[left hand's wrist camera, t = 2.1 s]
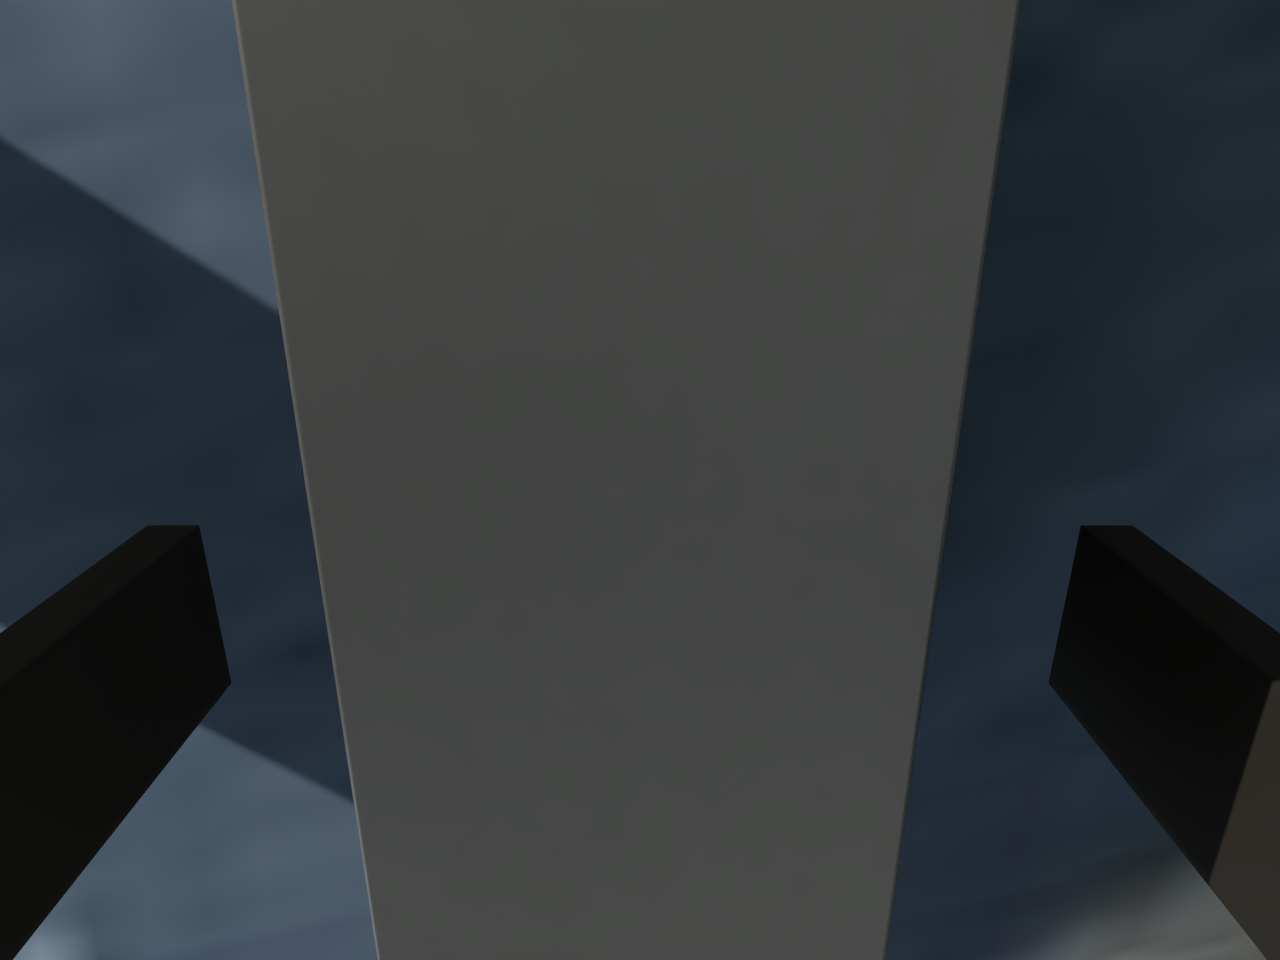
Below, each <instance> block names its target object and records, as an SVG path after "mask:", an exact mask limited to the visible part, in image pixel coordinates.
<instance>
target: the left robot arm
mask: <svg viewBox="0 0 1280 960" xmlns="http://www.w3.org/2000/svg"><path fill="white" fill-rule="evenodd" d="M230 684H231V679H230V674H229V669H228V664H227V659H226V655H225V650H224V645H223V640H222V635H221V630H220V625H219V620H218V616H217V611H216V606H215V601H214V596H213V591H212V586H211V581H210V577H209V572H208V567H207V562H206V557H205V552H204V547H203V542H202V537H201V533H200V528H199V526H146V527H145V528H144V529H142V530H141V531H139V532H138V533H137V534H135V535H134V536H133V537H131V538H130V539H129V540H127V541H126V542H124V543H123V544H122V545H120V546H119V547H118V548H116V549H115V550H114V551H112V552H111V553H109V554H108V555H107V556H105V557H104V558H103V559H101V560H100V561H98V562H97V563H96V564H94V565H93V566H92V567H90V568H89V569H88V570H86V571H85V572H83V573H82V574H81V575H79V576H78V577H77V578H75V579H74V580H73V581H71V582H70V583H68V584H67V585H66V586H64V587H63V588H62V589H60V590H59V591H57V592H56V593H55V594H53V595H52V596H51V597H49V598H48V599H47V600H45V601H44V602H42V603H41V604H40V605H38V606H37V607H36V608H34V609H33V610H32V611H30V612H29V613H27V614H26V615H25V616H23V617H22V618H21V619H19V620H18V621H16V622H15V623H14V624H12V625H11V626H10V627H8V628H7V629H6V630H4V631H3V632H1V633H0V960H13V959H14V957H15V956H16V955H17V954H18V952H19V951H20V950H21V948H22V947H23V946H24V945H25V943H26V942H27V941H28V940H29V938H30V937H31V936H32V935H33V933H34V932H35V931H36V929H37V928H38V927H39V926H40V924H41V923H42V922H43V921H44V919H45V918H46V917H47V916H48V914H49V913H50V912H51V910H52V909H53V908H54V907H55V905H56V904H57V903H58V902H59V900H60V899H61V898H62V897H63V895H64V894H65V893H66V892H67V890H68V889H69V888H70V886H71V885H72V884H73V883H74V881H75V880H76V879H77V878H78V876H79V875H80V874H81V873H82V871H83V870H84V869H85V867H86V866H87V865H88V864H89V862H90V861H91V860H92V859H93V857H94V856H95V855H96V854H97V852H98V851H99V850H100V848H101V847H102V846H103V845H104V843H105V842H106V841H107V840H108V838H109V837H110V836H111V835H112V833H113V832H114V831H115V829H116V828H117V827H118V826H119V824H120V823H121V822H122V821H123V819H124V818H125V817H126V816H127V814H128V813H129V812H130V810H131V809H132V808H133V807H134V805H135V804H136V803H137V802H138V800H139V799H140V798H141V797H142V795H143V794H144V793H145V791H146V790H147V789H148V788H149V786H150V785H151V784H152V783H153V781H154V780H155V779H156V778H157V776H158V775H159V774H160V772H161V771H162V770H163V769H164V767H165V766H166V765H167V764H168V762H169V761H170V760H171V759H172V757H173V756H174V755H175V753H176V752H177V751H178V750H179V748H180V747H181V746H182V745H183V743H184V742H185V741H186V740H187V738H188V737H189V736H190V734H191V733H192V732H193V731H194V729H195V728H196V727H197V726H198V724H199V723H200V722H201V721H202V719H203V718H204V717H205V716H206V714H207V713H208V712H209V710H210V709H211V708H212V707H213V705H214V704H215V703H216V702H217V700H218V699H219V698H220V697H221V695H222V694H223V693H224V691H225V690H226V689H227V688H228V686H229V685H230ZM1049 684H1050V685H1051V686H1052V688H1053V689H1054V690H1055V691H1056V693H1057V694H1058V695H1059V697H1060V698H1061V699H1062V700H1063V702H1064V703H1065V704H1066V705H1067V707H1068V708H1069V709H1070V710H1071V712H1072V713H1073V714H1074V716H1075V717H1076V718H1077V719H1078V721H1079V722H1080V723H1081V724H1082V726H1083V727H1084V728H1085V729H1086V731H1087V732H1088V733H1089V734H1090V736H1091V737H1092V738H1093V740H1094V741H1095V742H1096V743H1097V745H1098V746H1099V747H1100V748H1101V750H1102V751H1103V752H1104V753H1105V755H1106V756H1107V757H1108V759H1109V760H1110V761H1111V762H1112V764H1113V765H1114V766H1115V767H1116V769H1117V770H1118V771H1119V772H1120V774H1121V775H1122V776H1123V778H1124V779H1125V780H1126V781H1127V783H1128V784H1129V785H1130V786H1131V788H1132V789H1133V790H1134V791H1135V793H1136V794H1137V795H1138V797H1139V798H1140V799H1141V800H1142V802H1143V803H1144V804H1145V805H1146V807H1147V808H1148V809H1149V810H1150V812H1151V813H1152V814H1153V816H1154V817H1155V818H1156V819H1157V821H1158V822H1159V823H1160V824H1161V826H1162V827H1163V828H1164V829H1165V831H1166V832H1167V833H1168V835H1169V836H1170V837H1171V838H1172V840H1173V841H1174V842H1175V843H1176V845H1177V846H1178V847H1179V848H1180V850H1181V851H1182V852H1183V854H1184V855H1185V856H1186V857H1187V859H1188V860H1189V861H1190V862H1191V864H1192V865H1193V866H1194V867H1195V869H1196V870H1197V871H1198V873H1199V874H1200V875H1201V876H1202V878H1203V879H1204V880H1205V881H1206V883H1207V884H1208V885H1209V886H1210V888H1211V889H1212V890H1213V892H1214V893H1215V894H1216V895H1217V897H1218V898H1219V899H1220V900H1221V902H1222V903H1223V904H1224V905H1225V907H1226V908H1227V909H1228V910H1229V912H1230V913H1231V914H1232V916H1233V917H1234V918H1235V919H1236V921H1237V922H1238V923H1239V924H1240V926H1241V927H1242V928H1243V929H1244V931H1245V932H1246V933H1247V935H1248V936H1249V937H1250V938H1251V940H1252V941H1253V942H1254V943H1255V945H1256V946H1257V947H1258V948H1259V950H1260V951H1261V952H1262V954H1263V955H1264V956H1265V957H1266V959H1267V960H1280V633H1279V632H1277V631H1276V630H1274V629H1273V628H1272V627H1270V626H1269V625H1268V624H1266V623H1265V622H1264V621H1262V620H1261V619H1259V618H1258V617H1257V616H1255V615H1254V614H1253V613H1251V612H1250V611H1248V610H1247V609H1246V608H1244V607H1243V606H1242V605H1240V604H1239V603H1238V602H1236V601H1235V600H1233V599H1232V598H1231V597H1229V596H1228V595H1227V594H1225V593H1224V592H1223V591H1221V590H1220V589H1218V588H1217V587H1216V586H1214V585H1213V584H1212V583H1210V582H1209V581H1207V580H1206V579H1205V578H1203V577H1202V576H1201V575H1199V574H1198V573H1197V572H1195V571H1194V570H1192V569H1191V568H1190V567H1188V566H1187V565H1186V564H1184V563H1183V562H1182V561H1180V560H1179V559H1177V558H1176V557H1175V556H1173V555H1172V554H1171V553H1169V552H1168V551H1166V550H1165V549H1164V548H1162V547H1161V546H1160V545H1158V544H1157V543H1156V542H1154V541H1153V540H1151V539H1150V538H1149V537H1147V536H1146V535H1145V534H1143V533H1142V532H1141V531H1139V530H1138V529H1136V528H1135V527H1134V526H1081V528H1080V533H1079V537H1078V542H1077V547H1076V552H1075V557H1074V562H1073V567H1072V572H1071V577H1070V581H1069V586H1068V591H1067V596H1066V601H1065V606H1064V611H1063V616H1062V620H1061V625H1060V630H1059V635H1058V640H1057V645H1056V650H1055V655H1054V659H1053V664H1052V669H1051V674H1050V679H1049Z"/></svg>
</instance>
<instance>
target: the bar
mask: <svg viewBox="0 0 1280 960" xmlns="http://www.w3.org/2000/svg"><path fill="white" fill-rule="evenodd" d="M232 7H233V13H234V20H235V26H236V33H237V40H238V46H239V53H240V59H241V66H242V72H243V79H244V86H245V92H246V99H247V105H248V112H249V118H250V125H251V131H252V138H253V145H254V151H255V158H256V164H257V171H258V177H259V184H260V191H261V197H262V204H263V210H264V217H265V223H266V230H267V237H268V243H269V250H270V256H271V263H272V269H273V276H274V282H275V289H276V296H277V302H278V309H279V315H280V322H281V328H282V335H283V342H284V348H285V355H286V361H287V368H288V374H289V381H290V388H291V394H292V401H293V407H294V414H295V420H296V427H297V433H298V440H299V447H300V453H301V460H302V466H303V473H304V479H305V486H306V493H307V499H308V506H309V512H310V519H311V525H312V532H313V539H314V545H315V552H316V558H317V565H318V571H319V578H320V584H321V591H322V598H323V604H324V611H325V617H326V624H327V630H328V637H329V644H330V650H331V657H332V663H333V670H334V676H335V683H336V690H337V696H338V703H339V709H340V716H341V722H342V729H343V735H344V742H345V749H346V755H347V762H348V768H349V775H350V781H351V788H352V795H353V801H354V808H355V814H356V821H357V827H358V834H359V841H360V847H361V854H362V860H363V867H364V873H365V880H366V886H367V893H368V900H369V906H370V913H371V919H372V926H373V932H374V939H375V946H376V952H377V959H378V960H885V957H886V950H887V943H888V936H889V929H890V922H891V915H892V908H893V901H894V893H895V886H896V879H897V872H898V865H899V858H900V851H901V844H902V837H903V830H904V823H905V816H906V809H907V802H908V795H909V788H910V781H911V774H912V767H913V760H914V753H915V746H916V739H917V732H918V725H919V718H920V711H921V704H922V697H923V690H924V683H925V675H926V668H927V661H928V654H929V647H930V640H931V633H932V626H933V619H934V612H935V605H936V598H937V591H938V584H939V577H940V570H941V563H942V556H943V549H944V542H945V535H946V528H947V521H948V514H949V507H950V500H951V493H952V486H953V479H954V472H955V465H956V457H957V450H958V443H959V436H960V429H961V422H962V415H963V408H964V401H965V394H966V387H967V380H968V373H969V366H970V359H971V352H972V345H973V338H974V331H975V324H976V317H977V310H978V303H979V296H980V289H981V282H982V275H983V268H984V261H985V254H986V247H987V240H988V232H989V225H990V218H991V211H992V204H993V197H994V190H995V183H996V176H997V169H998V162H999V155H1000V148H1001V141H1002V134H1003V127H1004V120H1005V113H1006V106H1007V99H1008V92H1009V85H1010V78H1011V71H1012V64H1013V57H1014V50H1015V43H1016V36H1017V29H1018V22H1019V14H1020V7H1021V0H232Z"/></svg>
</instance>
